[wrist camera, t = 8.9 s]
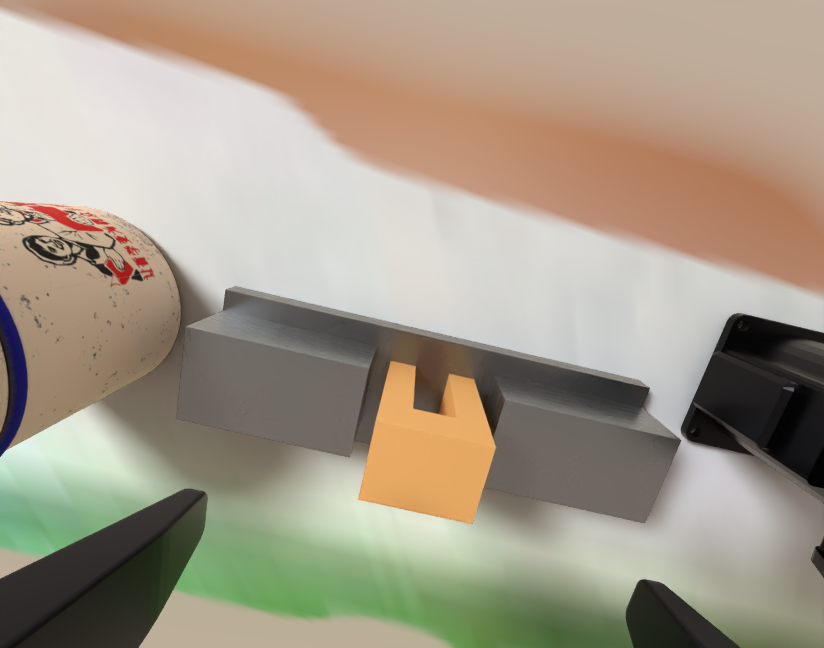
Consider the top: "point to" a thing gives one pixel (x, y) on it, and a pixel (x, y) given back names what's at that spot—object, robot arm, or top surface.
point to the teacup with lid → (76, 312)
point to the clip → (429, 449)
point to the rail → (423, 398)
